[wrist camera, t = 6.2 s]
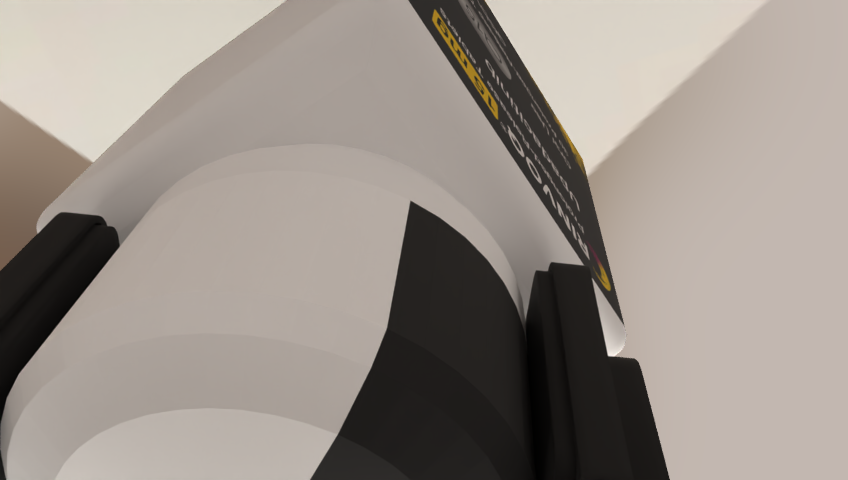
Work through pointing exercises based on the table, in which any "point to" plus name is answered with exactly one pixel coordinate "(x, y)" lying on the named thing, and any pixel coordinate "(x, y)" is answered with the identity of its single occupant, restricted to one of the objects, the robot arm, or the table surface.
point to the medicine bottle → (317, 262)
